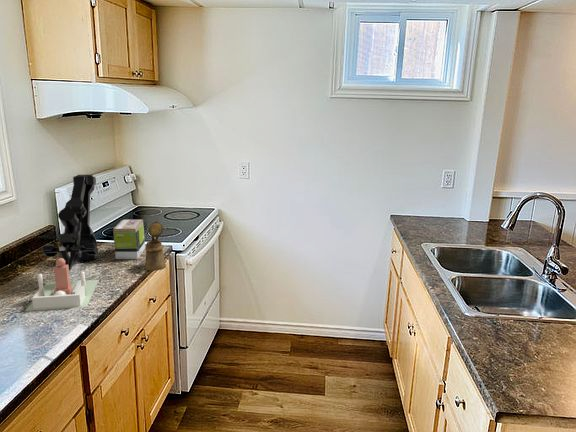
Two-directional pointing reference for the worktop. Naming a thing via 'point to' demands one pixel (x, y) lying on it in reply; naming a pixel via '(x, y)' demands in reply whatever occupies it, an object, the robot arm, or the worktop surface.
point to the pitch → (76, 287)
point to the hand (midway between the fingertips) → (68, 270)
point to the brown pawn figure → (155, 249)
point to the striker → (62, 277)
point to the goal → (58, 296)
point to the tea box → (129, 239)
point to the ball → (60, 293)
